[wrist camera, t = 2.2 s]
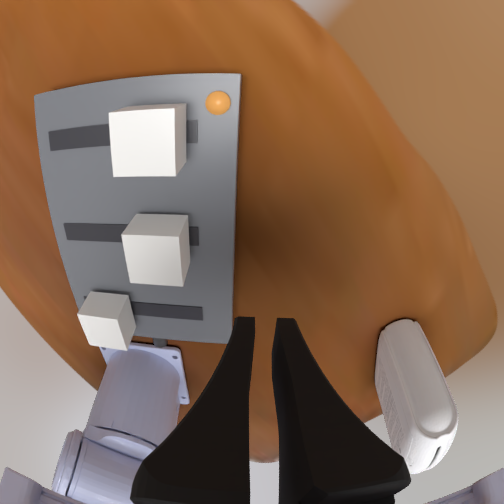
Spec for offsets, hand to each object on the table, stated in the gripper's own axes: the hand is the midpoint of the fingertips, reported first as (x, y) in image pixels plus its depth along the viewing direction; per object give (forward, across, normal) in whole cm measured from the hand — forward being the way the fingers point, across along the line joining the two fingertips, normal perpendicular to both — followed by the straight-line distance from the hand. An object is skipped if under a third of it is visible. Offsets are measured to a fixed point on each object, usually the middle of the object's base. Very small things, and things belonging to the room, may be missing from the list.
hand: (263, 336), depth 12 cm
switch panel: (+9, +8, 0) cm, 12 cm away
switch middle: (+7, +6, 0) cm, 9 cm away
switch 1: (+7, +10, +6) cm, 14 cm away
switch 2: (+7, +6, -6) cm, 11 cm away
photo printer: (+10, -14, +13) cm, 21 cm away
